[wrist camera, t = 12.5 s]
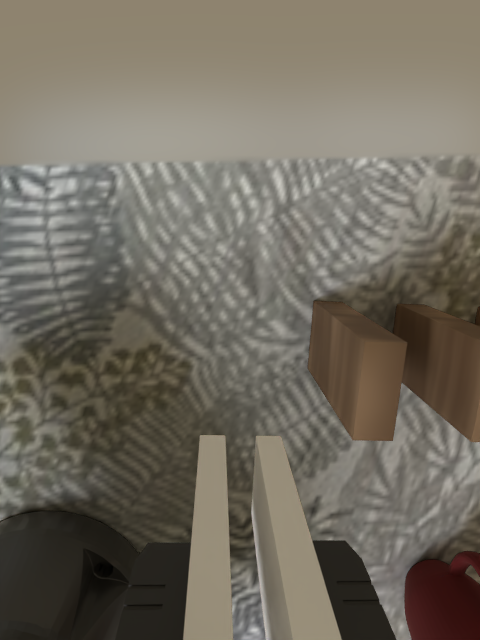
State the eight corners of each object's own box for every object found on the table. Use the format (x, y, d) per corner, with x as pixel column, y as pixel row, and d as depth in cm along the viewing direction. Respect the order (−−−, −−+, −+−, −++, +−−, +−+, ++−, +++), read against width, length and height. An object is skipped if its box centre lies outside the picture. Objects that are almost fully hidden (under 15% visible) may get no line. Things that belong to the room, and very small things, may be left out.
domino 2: (387, 370, 29) (471, 441, 20) (396, 303, 28) (490, 345, 19) (415, 370, 30) (511, 442, 20) (425, 304, 28) (533, 346, 19)
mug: (388, 514, 32) (460, 638, 23) (483, 510, 33) (595, 630, 23) (378, 617, 35) (439, 769, 25) (467, 612, 35) (561, 759, 26)
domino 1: (307, 368, 29) (352, 440, 19) (313, 300, 28) (364, 341, 18) (335, 368, 29) (394, 440, 20) (343, 301, 28) (409, 342, 18)
